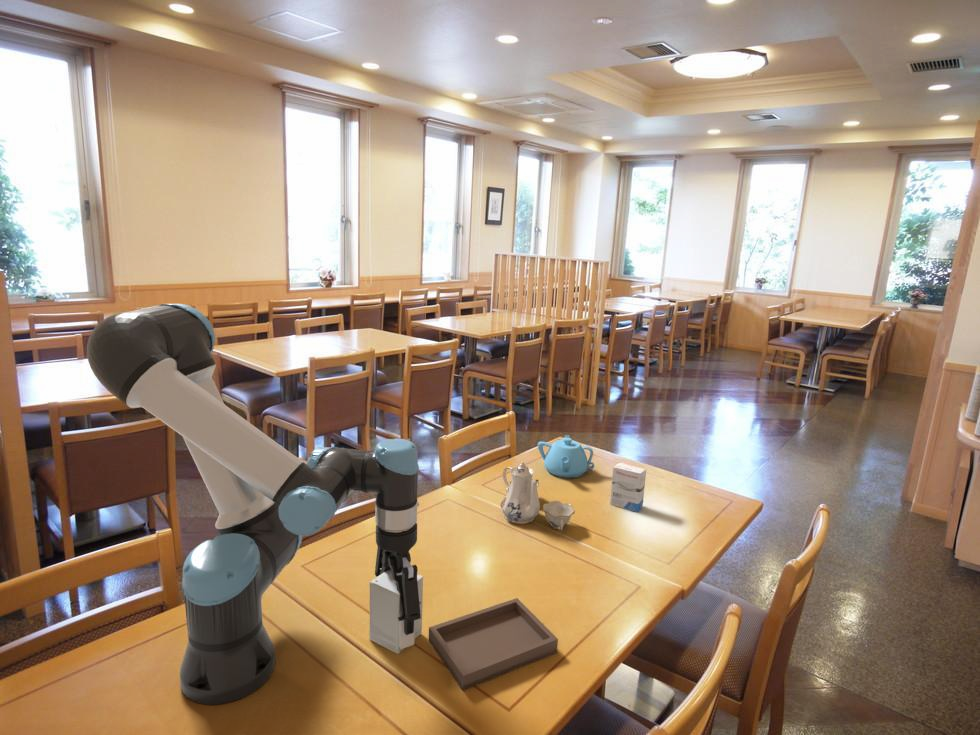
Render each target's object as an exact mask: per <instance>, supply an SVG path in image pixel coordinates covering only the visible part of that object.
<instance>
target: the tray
mask: <svg viewBox="0 0 980 735" xmlns="http://www.w3.org/2000/svg"><path fill="white" fill-rule="evenodd" d="M428 642H429V644H430V645H431V646H432V648H433V649H434V652H435V653H436V654H437V656H438V657H439V658H440V660H441V661H442V663H443V665H444V666H445V667H446V668H447V670H448V671H449V673H450V674H451V675H452V677H453V679H454V680H455V682H456V683H457V684H458V686H459V688H460V689H461V690H462V691H466V690H468V689H471V688H473V687H476V686H478V685H481V684H483V683H486V682H488V681H491V680H493V679H496V678H498V677H500V676H503V675H505V674H508V673H510V671H511V672H513V671H515V669H516V670H518V669H520V668H522V667H523V668H524V667H525V666H527V665H530V664H533V663H535V662H537V661H540V660H543V659H545V658H548V657H550V656H552V655H554V654H555V655H556V654H557V653H558V644H559V639H558V637H557V636H556V635H555V634H554V633H553V632H552V631H551V630H549V627H547V626H546V625H545V624H544V623H543V622H542V621H541V620H540V619H539V618H538V617H537V616H536V615H534V613H533V612H531V610H530V609H529V608H528V607H527V606H526V605H525V604H524V603H523V602H522V601H521V600H520V599H519V598H518V597H516V598H513V599H509V600H507V601H504V602H501V603H498V604H495V605H492V606H489V607H487V608H484V609H480V610H477V611H474V612H471V613H468V614H465V615H462V616H460V617H456V618H453V619H450V620H447V621H444V622H441V623H438V624H435V625H431V626H429V627H428Z"/></svg>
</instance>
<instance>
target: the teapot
mask: <svg viewBox="0 0 980 735" xmlns="http://www.w3.org/2000/svg"><path fill="white" fill-rule="evenodd" d="M544 447H548V449H547V451H546V453H545V450H544ZM537 450H538V451H539V454H540V456H541V457H542V459H543V465H544V468H545V470H547V471H548V473H549V474H550V475H553V476H556V477H559V478H566V479H567V478H568V479H572V478H573V479H574V478H579V477H581V476H583V475H584V474H585V473H586V472H587V471H588V470H592V469H594V468H595V464H594V462H591V461H592V459H593V456H594V451H593V449H592V447H590V446H588V445H584V446H583V445H581V443H579V442H578V441H576V440H573V438H571V437H570V435H568V434H567V435H564V437H563V438H562V439H557V440H555V441H554V442H552V443H549V442H546V441H539V442H537ZM585 450H588V451H589V453H590V455H589V457H587V455H586V454H587V453H586V452H585Z"/></svg>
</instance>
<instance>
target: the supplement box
mask: <svg viewBox="0 0 980 735" xmlns="http://www.w3.org/2000/svg"><path fill="white" fill-rule="evenodd" d="M396 574H397V573H396ZM398 575H401V573H398V574H397V576H398ZM417 583H418V593H419V604H420V615H421V618H420V619H417V620H415V625H414V640H415V639H416V638H417V637H419V636H420V635H422V633H423V599H424V598H423V597H424V593H423V592H424V576H423V575H421V574H418V573H417ZM400 615H401V610H400V593H399V592H398V590H397V586H396V581H394V580H393V579H392V573H391V570H388V571H385V572H384V573H382V574H381V575H379V576H377V577H376V576H375V578H373V579H372V580H370V581H369V640H370V641H372V642H373V643H375V644H378V645H379V646H381V647H383V648H385V649H387V650H388V651H390V652H393V653H395V654H397V655H398V654H400V653H401V652H402V651H403V650H404V649H405V648H403V649H400V647H399V620H398V617H399V616H400Z"/></svg>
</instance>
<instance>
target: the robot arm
mask: <svg viewBox="0 0 980 735" xmlns="http://www.w3.org/2000/svg"><path fill="white" fill-rule="evenodd" d="M215 344H216V334H215V330H214V328H213V326H212V324H211V322H210V320H209V319H208V318H207V317H206V316H205V314H203V313H202V312H201V311H199V309H197V308H194V307H192V306H190V305H187V304H184V303H160V304H157V305H153V306H148V307H143V308H140V309H139V308H138V309H134V310H131V311H130V310H129V311H123V312H118V313H114V314H112V315H110V316H108V317H106V318H104V319H102V320H101V321H100V322H99V323H98V324H97V325H96V326H95V327H94V328H93V330H92V331H91V334H90V335H89V337H88V341H87V345H86V357H87V361H88V364H89V367H90V369H91V371H92V372H93V375H94V376H95V377H96V379H97V380H98V382H99V383H100V384H101V385H102V386H103V387H104V388H105V389H106V390H107V391H108V392H109V393H110V394H112V396H114V397H115V398H116V399H118V400H119V401H120V402H122V403H123V404H124V405H125V406H128V407H129V408H131V409H137V408H143V409H144V410H146V411H147V412H148V413H149V414H151V415H152V416H154V417H155V418H156V419H158V420H159V421H161V422H162V423H163V424H164V425H166V426H168V427H169V428H170V429H172V430H173V431H175V432H176V433H177V434H179V435H180V436H182V439H183V440H184V443H185V445H186V447H187V449H188V451H189V453H190V455H191V457H192V460H193V461H194V464H195V466H196V468H197V470H198V472H199V474H200V477H201V478H202V480H203V483H204V484H205V486H206V488H207V489H206V490H207V491H208V492H209V495H210V497H211V500H212V501H213V504H214V505H215V508H216V510H217V512H218V517H217V520H216V521H215V524H214V526H215V529H216V531H217V533H218V535H217V536H214V539H213V538H212V539H206V540H205V541H203V542H201V543H199V544H198V545H196V546H195V547H194V548H193V549H192V550H191V551H190V552H189V553H188V555H187V556H186V559H185V560H184V563H183V567H182V579H181V581H182V582H181V587H182V592H183V596H184V597H183V598H184V606H185V609H184V610H185V617H186V618H185V619H186V628H187V638H188V642H187V645H186V647H185V648H186V649H185V651H184V652H185V653H184V655H183V657H182V658H183V659H182V662H181V665H180V670H179V683H180V689H181V691H182V693H183V695H184V696H185V697H186V698H187V699H188V700H190V701H192V702H195V703H198V704H201V705H222V704H226V703H231V702H235V701H237V700H240V699H242V698H245V697H247V696H248V695H250V694H252V693H253V692H255V691H257V690H258V689H260V688H261V687H262V686H263V685H264V684H265V683H266V682H267V681H268V680H269V678H270V677H271V675H272V674H273V671H274V669H275V666H276V652H275V646H274V644H273V642H272V640H271V638H270V637H271V636H269V633H268V631H267V630H266V628H265V626H264V623H263V610H262V609H263V607H262V598H263V595H264V593H266V591H267V590H268V589H269V588H270V585H272V584H273V582H274V581H275V580H276V579H277V577H278V576H280V574H281V572H282V571H283V570H284V568H286V567H287V565H289V564H290V563H291V562H292V560H293V559H294V557H295V555H296V554H297V552H298V550H299V549H300V546H301V544H302V542H303V537H308V536H313V535H315V534H316V533H318V532H319V531H320V530H321V529H322V528H324V527H325V525H327V523H329V522H330V521H332V519H333V518H334V516H335V514H336V512H337V511H338V510H339V508H340V507H341V506H342V504H343V503H345V501H346V500H347V498H348V497H349V496H350V495H351V493H353V492H355V493H360V494H361V493H362V494H363V493H365V494H375V502H374V503H375V504H374V507H375V509H374V510H375V515H374V520H375V523H376V524H375V543H376V546H377V549H376V550H377V552H376V558H375V566H374V568H375V569H374V575H375V578H376V577H378V576H379V575H381V574H382V573H384V572H385V571H388V570H391V573H392V579H393V580H394V581H396V586H397V590H398V592H399V593H400V610H401V615H400V616H399V617H398V620H399V647H400V649H403V648H404V649H405V648H409V647H411V646H414V645H415V639H414V625H415V620H417V619H420V618H421V615H420V604H419V593H418V583H417V574H418V565H416V564H411V562H412V561H411V560H412V558H411V554H410V550H411V549H412V548H414V546H415V545H416V544H417V541H418V523H417V522H418V507H420V503H419V501H418V483H419V482H418V481H419V469H420V466H419V464H418V463H419V462H418V460H419V459H418V447H417V445H416V444H415V443H414V442H413V441H410V440H408V439H406V438H405V439H404V438H398V437H397V438H388V439H383V440H381V441H379V442H378V443H377V444H376V445H375V448H374V449H373V450H363V449H353V448H345V447H342V448H341V447H337V446H331V447H329V446H328V447H326V446H323V447H320V446H319V447H316V448H314V449H313V450H312V451H311V453H310V454H309V457H308V459H307V462H306V463H305V462H304V461H302V460H301V459H300V458H299V457H297V456H295V455H294V454H293V453H291V452H290V451H289V450H287V449H286V448H284V447H283V446H282V445H280V443H278V442H276V441H275V440H274V439H272V438H271V437H270V436H268V435H267V434H265V432H263V431H261V430H260V429H258V427H256V426H255V425H254V424H252V423H250V422H249V421H248V420H246V418H244V417H243V416H241V415H239V414H238V413H237V412H235V411H234V410H233V409H231V408H230V407H228V406H227V405H226V404H225V403H224V400H223V398H222V396H221V393H220V391H219V389H218V387H217V385H216V382H215V381H214V379H213V374H214V373H215V371H216V368H217V364H216V362H215V359H214V357H213V355H212V352H213V350H214V346H215ZM396 573H397V574H398V573H401V575H398V576H397V574H396ZM404 649H403V650H404Z"/></svg>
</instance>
